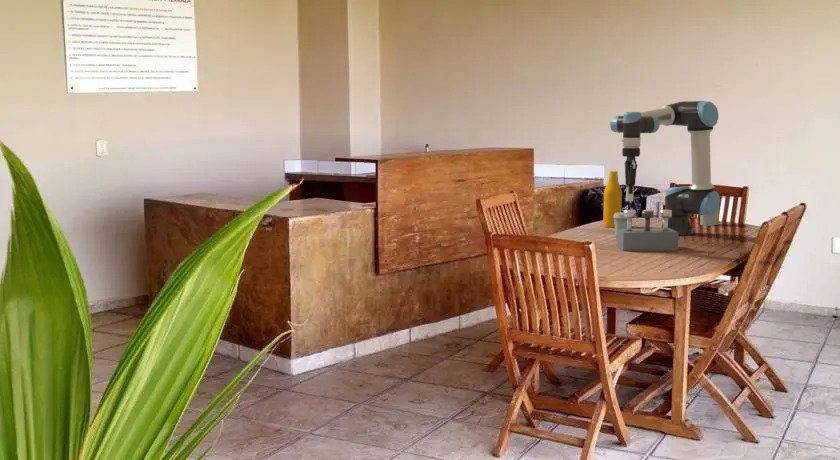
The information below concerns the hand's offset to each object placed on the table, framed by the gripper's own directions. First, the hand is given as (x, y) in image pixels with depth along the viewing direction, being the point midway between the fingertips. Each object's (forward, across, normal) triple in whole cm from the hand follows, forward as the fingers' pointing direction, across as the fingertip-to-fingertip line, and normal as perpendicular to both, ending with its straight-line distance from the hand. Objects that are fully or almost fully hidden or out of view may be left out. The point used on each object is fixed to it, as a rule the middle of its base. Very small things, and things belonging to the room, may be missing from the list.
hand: (629, 200), depth 384 cm
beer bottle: (+21, -69, +8) cm, 73 cm away
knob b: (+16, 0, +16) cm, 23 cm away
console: (+21, 0, +8) cm, 23 cm away
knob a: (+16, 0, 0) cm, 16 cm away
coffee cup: (+21, -30, +4) cm, 37 cm away
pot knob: (+16, 0, +8) cm, 18 cm away
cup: (+21, -72, +60) cm, 96 cm away
